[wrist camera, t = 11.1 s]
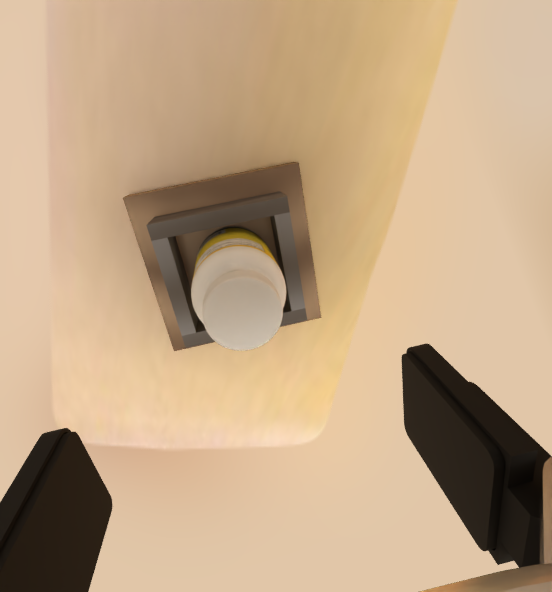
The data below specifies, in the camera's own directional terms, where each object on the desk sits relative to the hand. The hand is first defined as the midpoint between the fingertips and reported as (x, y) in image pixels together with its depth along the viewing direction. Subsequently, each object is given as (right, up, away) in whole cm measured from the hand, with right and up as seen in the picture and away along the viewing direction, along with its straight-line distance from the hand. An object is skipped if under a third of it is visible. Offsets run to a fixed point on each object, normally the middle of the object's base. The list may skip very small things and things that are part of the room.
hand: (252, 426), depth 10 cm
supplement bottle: (-2, +6, +17) cm, 18 cm away
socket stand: (-3, +7, +18) cm, 19 cm away
